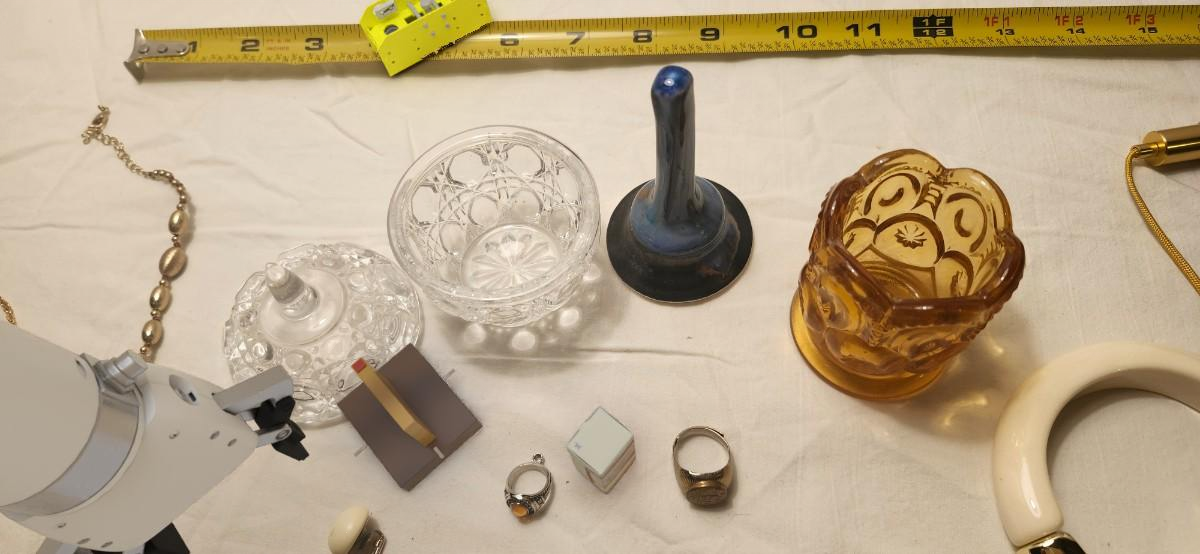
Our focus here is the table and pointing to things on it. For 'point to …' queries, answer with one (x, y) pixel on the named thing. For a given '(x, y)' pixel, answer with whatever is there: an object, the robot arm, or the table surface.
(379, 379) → the yellow angled block
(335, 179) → the table surface
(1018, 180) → the table surface
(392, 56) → the yellow toy chassis
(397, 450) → the stand
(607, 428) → the pale grey box
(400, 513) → the table surface
